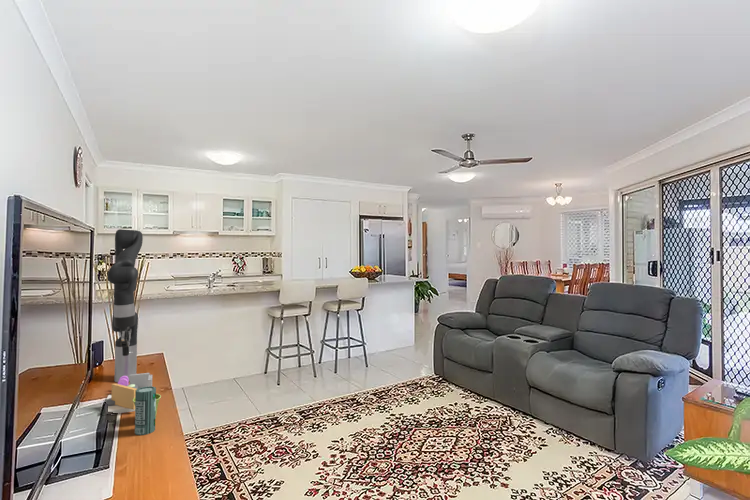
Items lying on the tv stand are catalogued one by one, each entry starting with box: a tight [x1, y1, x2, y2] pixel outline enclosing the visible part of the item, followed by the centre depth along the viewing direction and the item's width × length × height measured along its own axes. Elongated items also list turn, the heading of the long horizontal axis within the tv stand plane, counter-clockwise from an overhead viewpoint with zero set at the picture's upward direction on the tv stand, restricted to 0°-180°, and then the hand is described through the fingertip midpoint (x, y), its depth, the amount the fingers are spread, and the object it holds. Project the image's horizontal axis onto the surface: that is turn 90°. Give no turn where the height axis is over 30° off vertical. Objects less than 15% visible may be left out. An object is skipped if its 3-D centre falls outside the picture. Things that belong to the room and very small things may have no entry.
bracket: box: [117, 376, 130, 386], centre depth 184 cm, size 13×6×7 cm, turn 116°
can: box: [134, 385, 157, 436], centre depth 144 cm, size 6×6×15 cm
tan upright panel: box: [105, 382, 136, 410], centre depth 162 cm, size 16×5×8 cm, turn 65°
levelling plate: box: [106, 372, 153, 414], centre depth 170 cm, size 21×18×10 cm
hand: (125, 355), depth 169 cm, fingers closed
